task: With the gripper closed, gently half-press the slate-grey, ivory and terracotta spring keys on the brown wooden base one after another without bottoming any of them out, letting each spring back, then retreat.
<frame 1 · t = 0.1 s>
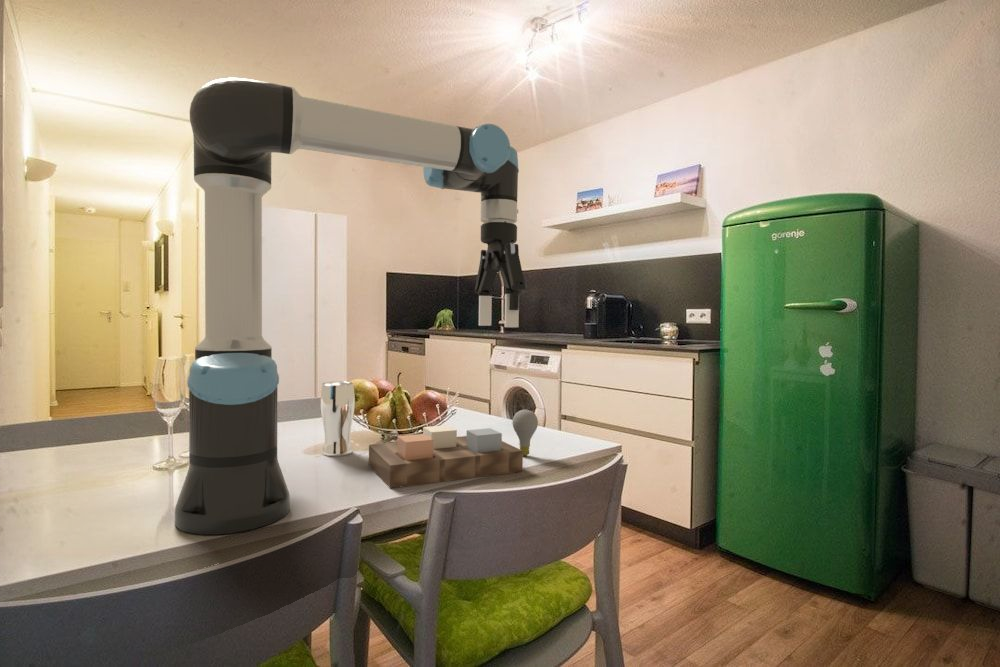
hand: (497, 326, 113), 28 cm above the table, fingers open, 13 cm apart
key ivory: (439, 440, 109), point 5 cm above the table, slide at 0.0 cm
key slate: (483, 444, 106), point 5 cm above the table, slide at 0.0 cm
key terracotta: (415, 451, 100), point 5 cm above the table, slide at 0.0 cm
beer glass: (337, 453, 117), on the table
light bulb: (524, 456, 116), on the table
brown wooden base: (444, 468, 106), on the table
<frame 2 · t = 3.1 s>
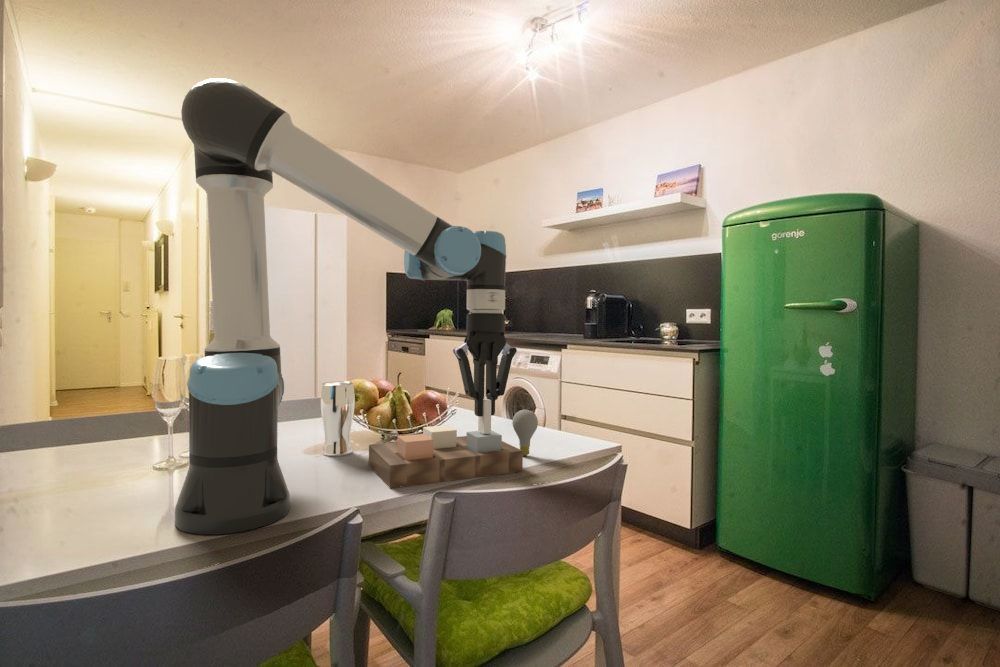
hand: (484, 432, 106), 7 cm above the table, fingers closed
key slate: (483, 446, 106), point 4 cm above the table, slide at 0.4 cm, touching gripper
everything else where it was.
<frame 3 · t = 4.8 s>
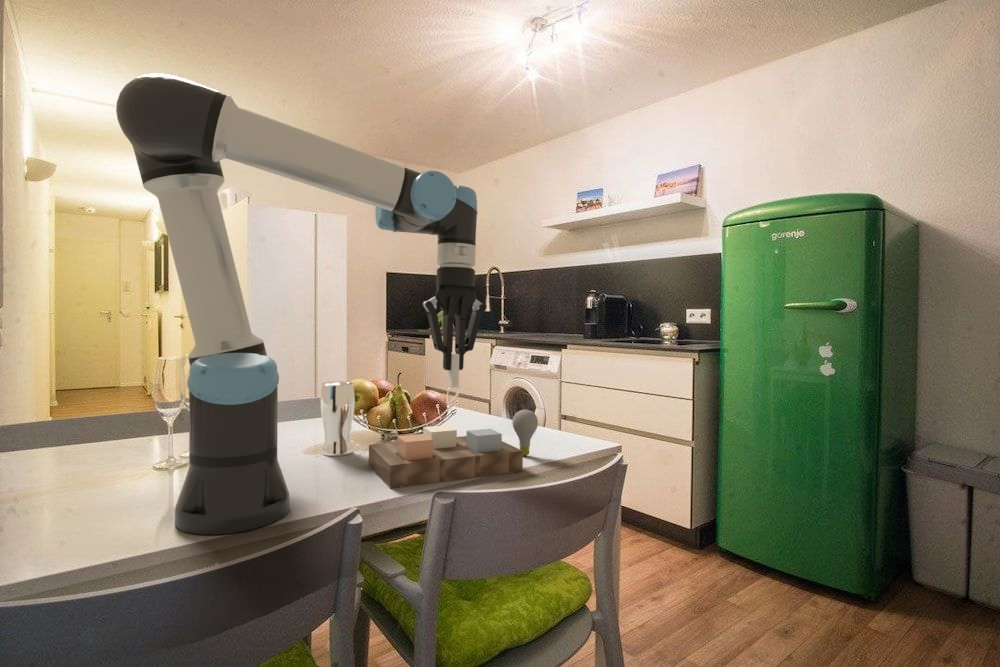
hand: (452, 386, 107), 16 cm above the table, fingers closed
key slate: (483, 444, 106), point 5 cm above the table, slide at 0.1 cm
everything else where it was.
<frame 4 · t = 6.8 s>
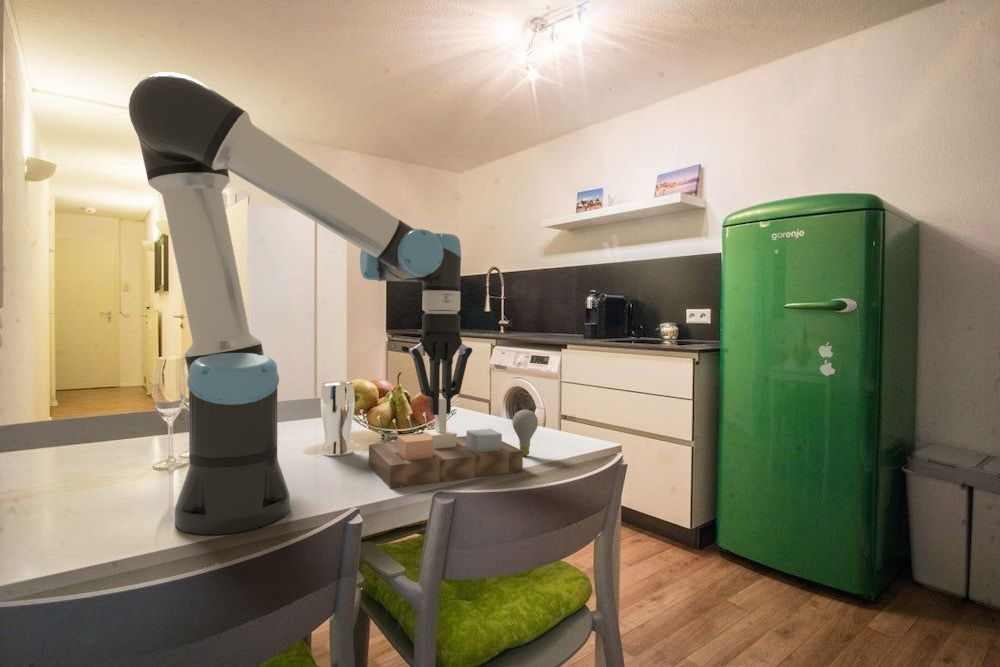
hand: (440, 430, 109), 7 cm above the table, fingers closed
key ivory: (439, 444, 109), point 4 cm above the table, slide at 0.6 cm, touching gripper
everything else where it was.
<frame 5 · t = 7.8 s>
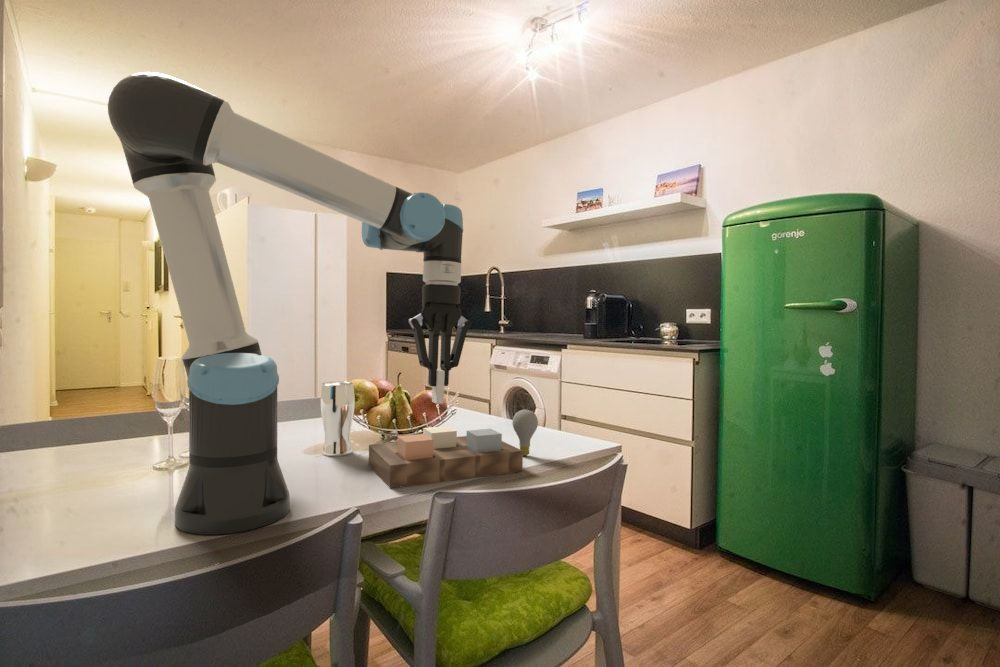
hand: (437, 402, 108), 12 cm above the table, fingers closed
key ivory: (439, 441, 109), point 5 cm above the table, slide at 0.2 cm
everything else where it was.
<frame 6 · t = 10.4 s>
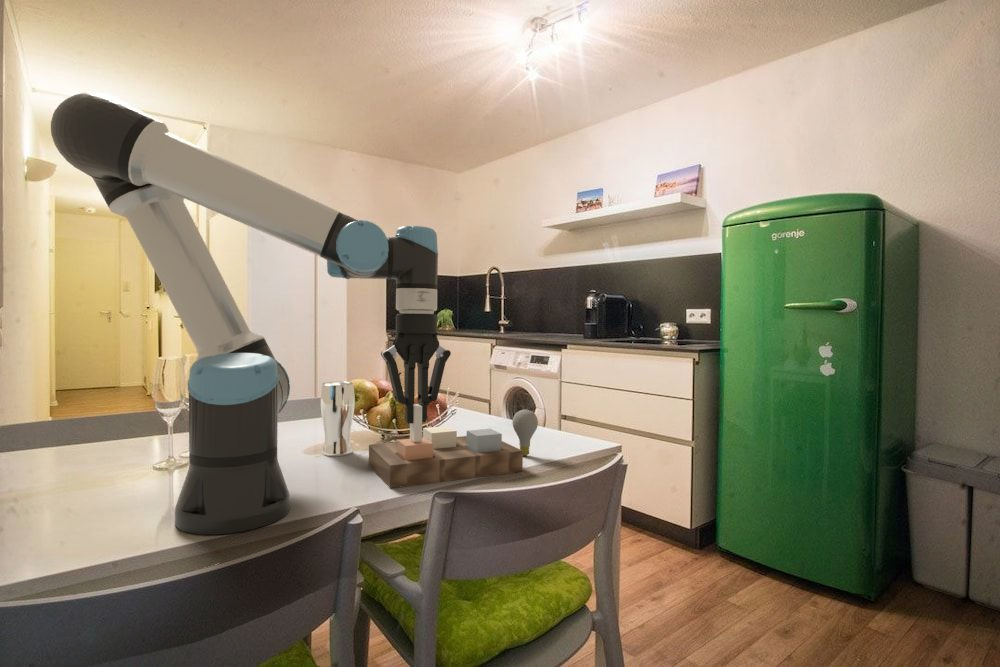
hand: (415, 440, 100), 7 cm above the table, fingers closed
key terracotta: (414, 454, 100), point 4 cm above the table, slide at 0.7 cm, touching gripper
everything else where it was.
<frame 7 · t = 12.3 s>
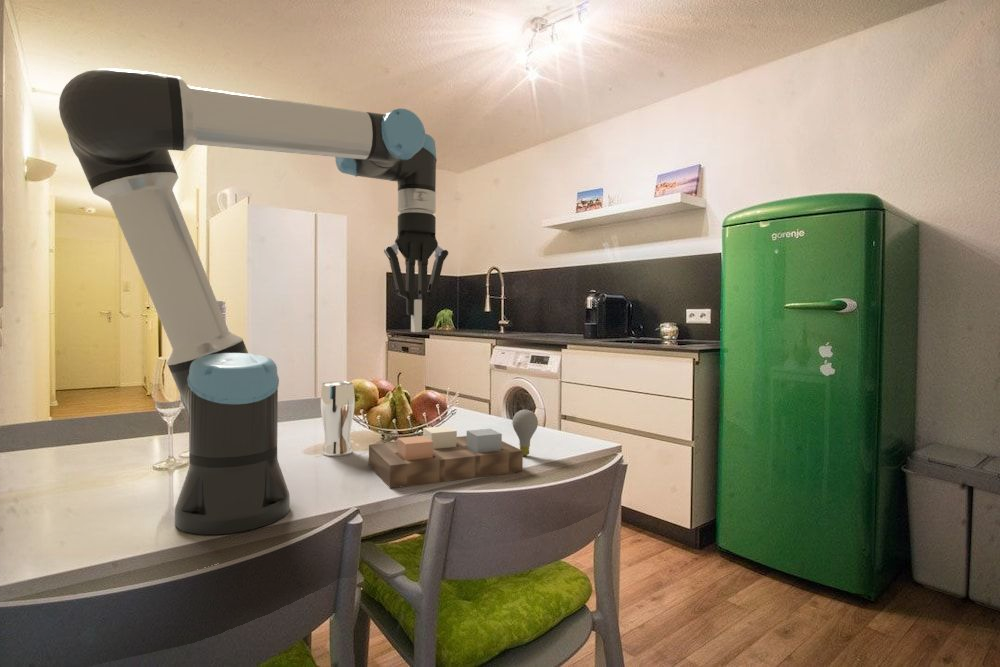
hand: (416, 331, 109), 27 cm above the table, fingers closed
key terracotta: (414, 453, 100), point 4 cm above the table, slide at 0.3 cm
everything else where it was.
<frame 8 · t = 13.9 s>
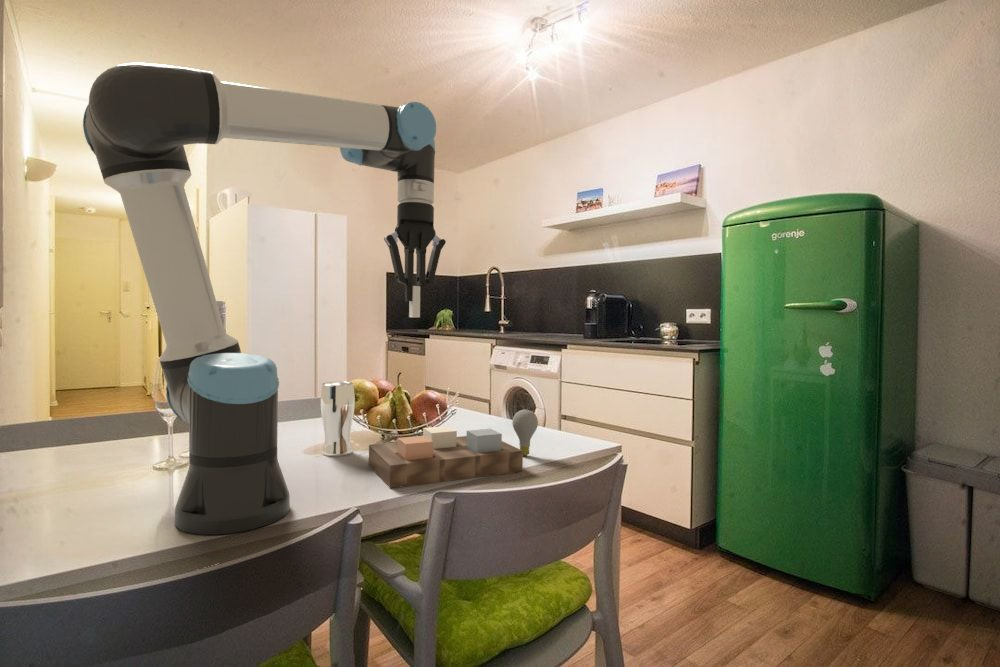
hand: (414, 317, 114), 29 cm above the table, fingers closed
nothing on the table moved.
at the end: key slate slide at 0.1 cm; key ivory slide at 0.2 cm; key terracotta slide at 0.3 cm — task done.
